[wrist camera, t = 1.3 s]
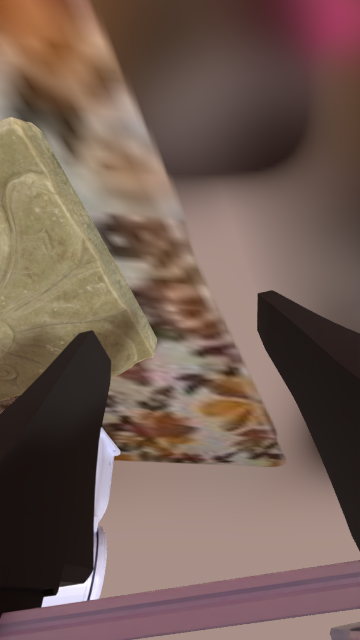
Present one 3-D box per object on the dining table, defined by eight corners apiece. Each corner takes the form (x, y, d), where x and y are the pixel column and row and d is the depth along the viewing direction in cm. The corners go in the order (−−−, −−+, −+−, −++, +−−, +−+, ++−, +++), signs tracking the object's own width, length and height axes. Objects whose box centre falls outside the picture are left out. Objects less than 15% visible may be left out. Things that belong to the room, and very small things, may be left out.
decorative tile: (-218, 249, 15) (-302, 269, 12) (37, 118, 13) (6, 105, 10) (1, 400, 26) (-18, 429, 23) (162, 341, 24) (164, 365, 21)
